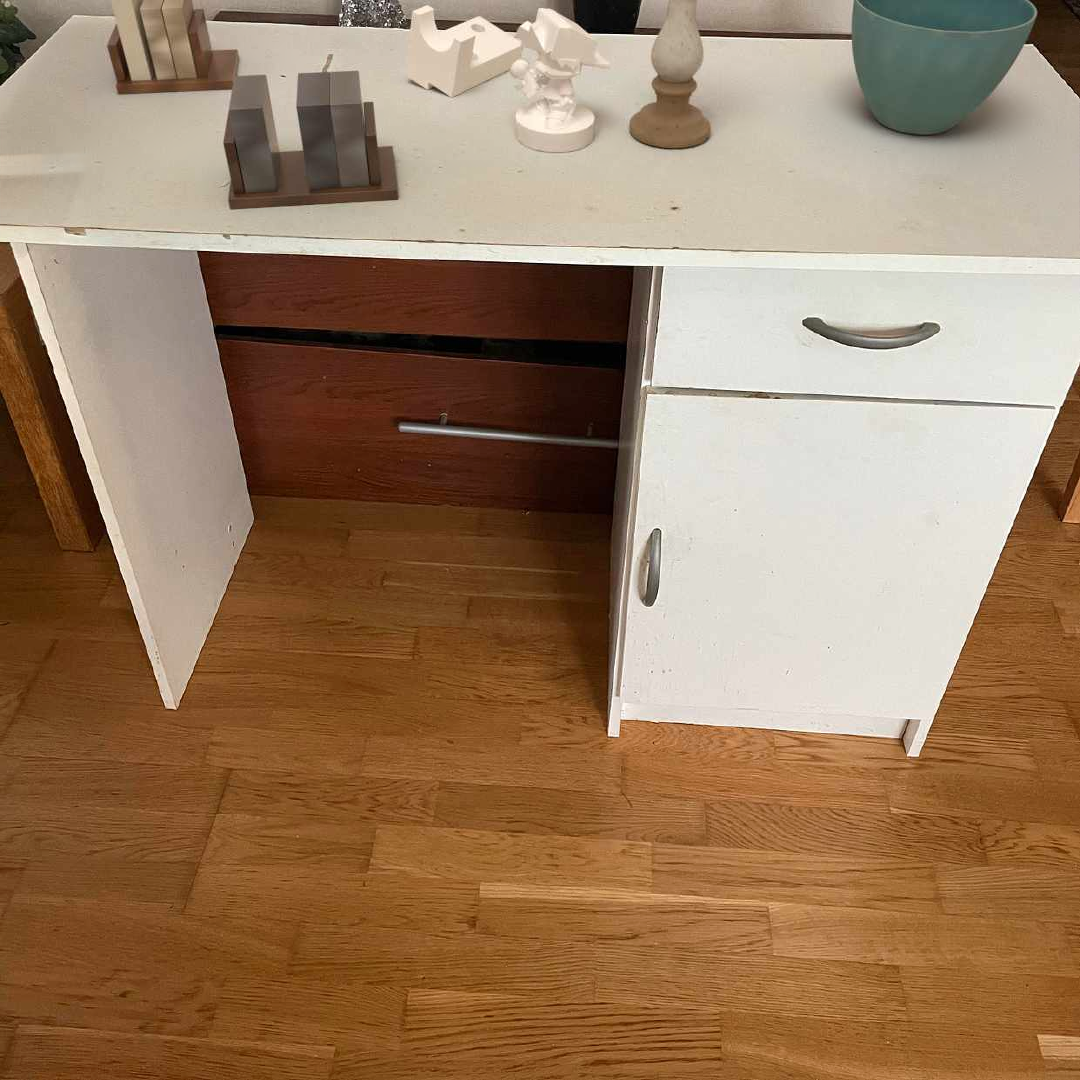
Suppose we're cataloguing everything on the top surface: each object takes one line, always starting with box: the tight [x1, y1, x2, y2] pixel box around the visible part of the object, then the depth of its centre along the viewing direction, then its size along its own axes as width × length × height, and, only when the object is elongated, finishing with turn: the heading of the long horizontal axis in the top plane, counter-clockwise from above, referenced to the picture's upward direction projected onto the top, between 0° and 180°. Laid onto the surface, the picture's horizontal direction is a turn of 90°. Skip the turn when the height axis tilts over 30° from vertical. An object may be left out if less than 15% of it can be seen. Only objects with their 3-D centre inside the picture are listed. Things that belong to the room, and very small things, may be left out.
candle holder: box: [629, 0, 712, 149], centre depth 103 cm, size 9×9×20 cm
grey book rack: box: [222, 70, 399, 210], centre depth 98 cm, size 16×10×9 cm, turn 99°
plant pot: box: [851, 0, 1038, 136], centre depth 109 cm, size 18×18×12 cm
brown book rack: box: [106, 0, 240, 95], centre depth 117 cm, size 13×10×9 cm
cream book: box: [110, 0, 155, 81], centre depth 114 cm, size 2×8×14 cm, turn 9°
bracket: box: [404, 4, 524, 98], centre depth 119 cm, size 13×7×8 cm, turn 144°
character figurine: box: [510, 7, 611, 153], centre depth 105 cm, size 9×10×12 cm
